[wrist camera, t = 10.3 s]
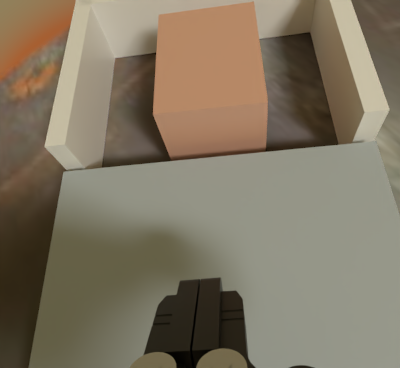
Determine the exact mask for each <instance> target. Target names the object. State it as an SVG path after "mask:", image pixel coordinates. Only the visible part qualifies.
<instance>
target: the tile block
mask: <svg viewBox="0 0 400 368" xmlns="http://www.w3.org/2000/svg"><path fill="white" fill-rule="evenodd" d="M267 112H268V99H267V92H266V85H265V78H264V70H263V63H262V56H261V49H260V41H259V34H258V27H257V20H256V12H255V5H254V2H247V3H240V4H232V5H225V6H218V7H211V8H203V9H196V10H189V11H182V12H174V13H167V14H160V15H159V17H158V34H157V51H156V69H155V86H154V103H153V116H154V118H155V121H156V123H157V126H158V128H159V131H160V133H161V136H162V138H163V141H164V143H165V146H166V148H167V151H168V153H169V156H170V158H171V161H178V160H188V159H198V158H208V157H219V156H229V155H239V154H249V153H260V152H266V135H267Z"/></svg>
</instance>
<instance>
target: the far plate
mask: <svg viewBox="0 0 400 368" xmlns="http://www.w3.org/2000/svg"><path fill="white" fill-rule="evenodd" d="M218 277H221V280H222V288H223V291H235V290H236V291H237V292H238V293H239V295H240V296H241V297H242V299H243V306H244V315H245V324H246V333H247V345H248V358H249V360H250V362H251V363H252V364H253V365H254V366H255V367H256V368H289V367H292V366H297V365H306V366H311V367H314V368H400V215H399V212H398V209H397V206H396V202H395V199H394V196H393V193H392V190H391V187H390V183H389V180H388V177H387V174H386V171H385V168H384V164H383V161H382V158H381V155H380V152H379V148H378V145H377V142H376V141H372V142H362V143H352V144H341V145H331V146H321V147H311V148H300V149H290V150H280V151H270V152H260V153H249V154H239V155H229V156H219V157H208V158H198V159H188V160H178V161H168V162H157V163H147V164H137V165H127V166H116V167H106V168H96V169H86V170H76V171H65V172H63V178H62V183H61V189H60V194H59V200H58V206H57V211H56V217H55V222H54V228H53V234H52V239H51V245H50V250H49V256H48V262H47V267H46V273H45V278H44V284H43V290H42V295H41V301H40V306H39V312H38V318H37V323H36V329H35V334H34V340H33V346H32V351H31V357H30V362H29V368H130V366H131V365H132V364H133V363H134V361H136V360H137V359H138V358H140V357H141V356H143V355H144V351H145V348H146V344H147V341H148V338H149V334H150V331H151V327H152V326H153V321H154V317H155V314H156V310H157V307H158V304H159V303H160V302H161V301H162V300H163V299H164V298H165V297H166V295H177V290H178V286H179V282H180V280H193V279H200V281H201V279H205V278H218Z"/></svg>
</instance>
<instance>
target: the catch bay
mask: <svg viewBox="0 0 400 368" xmlns="http://www.w3.org/2000/svg"><path fill="white" fill-rule="evenodd" d="M247 2H254V5H255V12H256V20H257V27H258V34H259V39H263V38H271V37H278V36H286V35H293V34H301V33H308V32H310V34H311V37H312V41H313V45H314V49H315V53H316V57H317V61H318V65H319V69H320V73H321V77H322V81H323V85H324V89H325V93H326V97H327V101H328V105H329V109H330V112H331V116H332V120H333V124H334V128H335V132H336V136H337V140H338V144H339V145H341V144H352V143H362V142H372V141H374V139H375V137H376V135H377V133H378V131H379V130H380V128H381V126H382V124H383V122H384V120H385V118H386V116H387V114H388V112H389V107H388V104H387V101H386V98H385V96H384V93H383V90H382V87H381V84H380V81H379V79H378V76H377V73H376V70H375V67H374V65H373V62H372V59H371V56H370V53H369V50H368V48H367V45H366V42H365V39H364V36H363V33H362V31H361V28H360V25H359V22H358V19H357V17H356V14H355V11H354V8H353V5H352V2H351V0H76V3H75V8H74V12H73V17H72V22H71V26H70V31H69V35H68V40H67V45H66V49H65V54H64V59H63V63H62V68H61V72H60V77H59V82H58V86H57V91H56V96H55V100H54V105H53V109H52V114H51V119H50V123H49V128H48V133H47V137H46V142H45V148H46V149H47V150H48V151H49V152H50V153H51V154H52V155H53V156H54V157H55V158H56V159H57V160H58V161H59V163H60V164H61V165H62V166H63V167H64V168H65V169H66V170H67V171H76V170H86V169H96V168H102V162H103V154H104V146H105V138H106V129H107V121H108V113H109V104H110V96H111V88H112V79H113V71H114V63H115V58H121V57H128V56H136V55H143V54H151V53H156V51H157V34H158V17H159V15H160V14H167V13H174V12H182V11H189V10H196V9H203V8H211V7H218V6H225V5H232V4H240V3H247Z"/></svg>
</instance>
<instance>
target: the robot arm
mask: <svg viewBox="0 0 400 368" xmlns="http://www.w3.org/2000/svg"><path fill="white" fill-rule="evenodd" d="M130 368H256V367H255V366H254V365H253V364H252V363H251V362H250V360H249V358H248V345H247V333H246V324H245V315H244V306H243V299H242V297H241V296H240V295H239V293H238V292H237V291H236V290H235V291H223V288H222V280H221V277H218V278H205V279H201V281H200V279H193V280H180V282H179V286H178V290H177V295H166V297H165V298H164V299H163V300H162V301H161V302H160V303H159V304H158V307H157V310H156V314H155V317H154V321H153V326H152V327H151V331H150V334H149V338H148V341H147V344H146V348H145V351H144V355H143V356H141V357H140V358H138V359H137V360H136V361H134V363H133V364H132V365H131V366H130ZM289 368H314V367H311V366H306V365H297V366H292V367H289Z"/></svg>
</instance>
